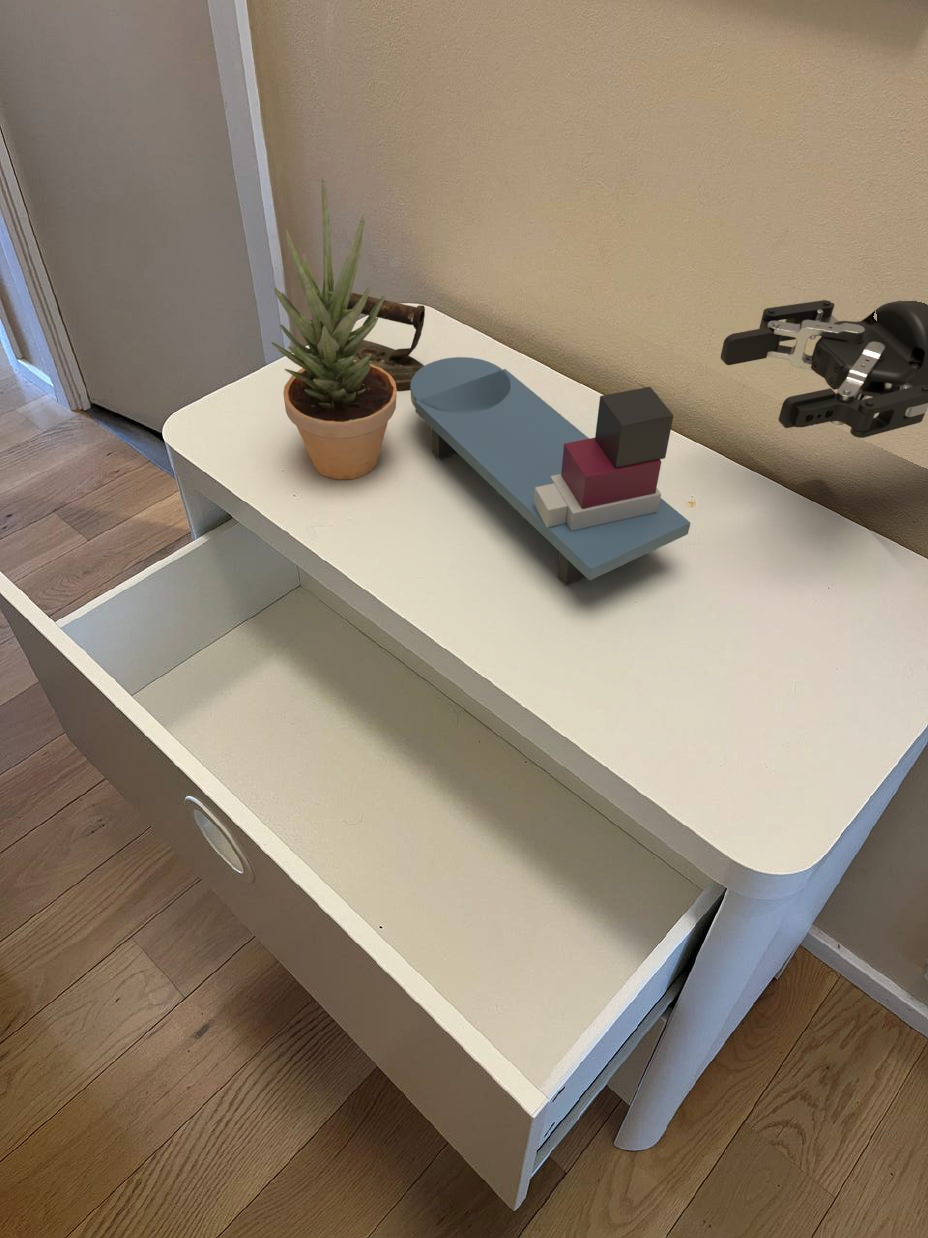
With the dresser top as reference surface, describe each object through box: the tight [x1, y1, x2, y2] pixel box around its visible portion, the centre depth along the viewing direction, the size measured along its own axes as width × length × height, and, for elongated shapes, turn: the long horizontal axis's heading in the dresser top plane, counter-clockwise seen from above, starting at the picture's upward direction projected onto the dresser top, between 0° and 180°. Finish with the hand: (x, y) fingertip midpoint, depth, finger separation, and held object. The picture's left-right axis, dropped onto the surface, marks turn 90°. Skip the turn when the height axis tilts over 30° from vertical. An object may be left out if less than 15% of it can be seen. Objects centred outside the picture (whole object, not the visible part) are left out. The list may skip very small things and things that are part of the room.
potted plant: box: [271, 172, 398, 480], centre depth 78 cm, size 10×10×25 cm
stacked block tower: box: [534, 386, 674, 531], centre depth 71 cm, size 9×5×9 cm, turn 108°
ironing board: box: [409, 356, 691, 586], centre depth 82 cm, size 30×10×5 cm, turn 32°
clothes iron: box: [346, 291, 426, 391], centre depth 93 cm, size 7×11×10 cm, turn 73°
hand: (752, 381), depth 70 cm, fingers open, 8 cm apart
